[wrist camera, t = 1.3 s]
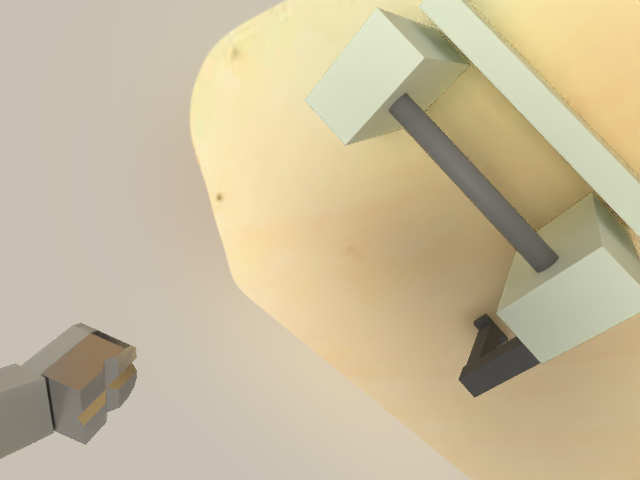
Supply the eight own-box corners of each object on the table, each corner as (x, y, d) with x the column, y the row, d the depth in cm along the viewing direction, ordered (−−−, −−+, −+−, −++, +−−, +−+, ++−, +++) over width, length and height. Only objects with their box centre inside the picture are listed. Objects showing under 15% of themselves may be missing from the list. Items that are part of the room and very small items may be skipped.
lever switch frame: (667, 206, 34) (717, 271, 23) (550, 279, 40) (541, 364, 28) (464, -2, 36) (414, -42, 25) (379, 94, 42) (304, 100, 30)
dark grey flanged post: (559, 308, 40) (556, 364, 32) (495, 345, 44) (479, 403, 36) (535, 282, 40) (526, 330, 33) (474, 321, 44) (453, 373, 36)
